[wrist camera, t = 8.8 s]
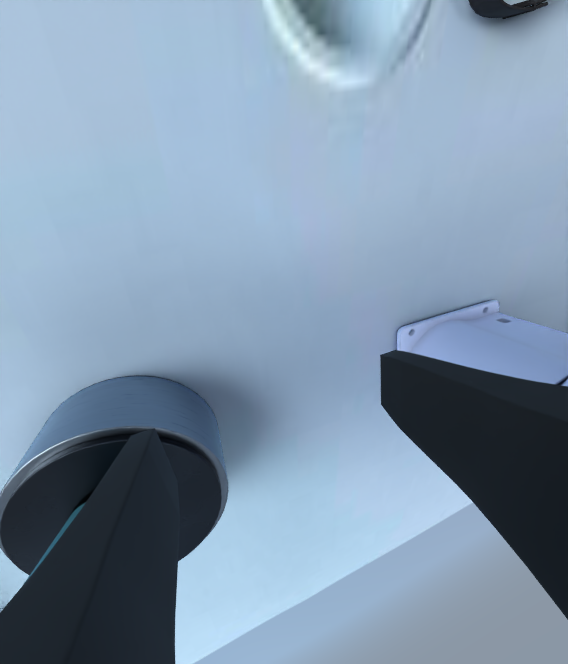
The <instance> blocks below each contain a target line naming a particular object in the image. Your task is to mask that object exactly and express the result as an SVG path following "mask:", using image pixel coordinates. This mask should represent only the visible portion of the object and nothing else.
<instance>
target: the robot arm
mask: <svg viewBox="0 0 568 664" xmlns="http://www.w3.org/2000/svg"><path fill="white" fill-rule="evenodd" d="M499 306H500V304H499V302H498V301H496V300H490V301H487V302H484V303H480V304H477V305H474V306H470V307H467V308H464V309H460V310H457V311H453V312H450V313H447V314H443V315H440V316H437V317H433V318H430V319H427V320H423V321H420V322H416V323H413V324H410V325H406V326H403V327H401V328H400V329H399V330H398V333H397V350H395V351H391V352H388V353H385V354H382V355H380V356H381V405H382V406H383V408H384V409H385V410H386V412H387V413H388V414H389V416H390V417H391V418H392V419H393V421H394V422H395V423H396V424H397V426H398V427H399V428H400V429H401V430H402V431H403V432H404V433H405V434H406V435H407V436H408V437H409V438H410V439H411V440H412V441H413V442H414V443H415V444H416V445H417V446H418V447H419V448H420V449H421V450H422V451H423V452H424V453H425V454H426V455H427V456H428V457H429V458H430V459H431V460H432V461H433V462H434V463H435V464H436V465H437V466H438V467H439V468H440V469H441V470H442V471H443V472H444V473H445V474H446V475H447V476H448V477H449V478H450V479H452V480H453V481H454V482H455V483H456V484H457V485H458V486H459V488H460V489H461V490H462V491H463V492H464V493H465V494H466V495H467V496H468V497H469V498H470V499H471V500H472V501H473V503H474V504H475V505H476V506H477V507H478V508H479V510H480V511H481V512H482V513H483V514H484V515H485V517H486V518H487V519H488V520H489V521H490V522H491V524H492V525H493V526H494V527H495V528H496V529H497V531H498V532H499V533H500V534H501V535H502V537H503V538H504V539H505V540H506V542H507V543H508V544H509V545H510V547H511V548H512V549H513V550H514V551H515V553H516V554H517V555H518V556H519V557H520V559H521V560H522V561H523V562H524V564H525V565H526V566H527V567H528V568H529V570H530V571H531V572H532V574H533V575H534V576H535V578H536V579H537V580H538V582H539V583H540V584H541V585H542V587H543V588H544V589H545V591H546V592H547V593H548V594H549V596H550V597H551V598H552V600H553V601H554V602H555V604H556V605H557V606H558V607H559V609H560V610H561V611H562V613H563V614H564V615H565V617H566V618H567V619H568V333H565V332H562V331H559V330H555V329H552V328H549V327H545V326H542V325H539V324H535V323H532V322H529V321H525V320H522V319H519V318H515V317H512V316H508V315H505V314H502V313H498V312H499ZM410 330H411V332H410V333H409V331H410ZM179 524H180V512H179V496H178V484H177V478H176V476H175V474H174V471H173V469H172V467H171V464H170V462H169V460H168V457H167V455H166V453H165V450H164V448H163V446H162V443H161V441H160V439H159V437H158V434H157V432H156V430H155V428H153V429H150V430H147V431H144V432H140V433H137V434H134V435H131V437H130V438H129V440H128V441H127V442H126V444H125V445H124V447H123V448H122V450H121V451H120V453H119V454H118V456H117V457H116V459H115V460H114V462H113V463H112V465H111V466H110V468H109V469H108V471H107V472H106V474H105V475H104V477H103V478H102V480H101V481H100V483H99V484H98V486H97V487H96V489H95V490H94V491H93V493H92V494H91V496H90V497H89V499H88V500H87V502H86V503H85V505H84V506H83V507H82V509H81V510H80V512H79V513H78V514H77V516H76V517H75V518H74V520H73V521H72V522H71V524H70V525H69V526H68V528H67V529H66V530H65V532H64V533H63V534H62V536H61V537H60V538H59V540H58V541H57V542H56V544H55V545H54V546H53V548H52V549H51V550H50V552H49V553H48V555H47V556H46V557H45V559H44V560H43V561H42V562H41V564H40V565H39V566H38V567H37V569H36V570H35V571H34V573H33V574H32V575H31V576H30V577H29V579H28V580H27V581H26V582H25V584H24V585H23V586H22V587H21V589H20V590H19V591H18V592H17V593H16V595H15V596H14V597H13V598H12V599H11V601H10V602H9V603H8V604H7V605H6V607H5V608H4V609H3V610H2V611H1V613H0V664H175V609H176V588H177V568H178V548H179Z"/></svg>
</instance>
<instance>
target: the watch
mask: <svg viewBox="0 0 568 664" xmlns="http://www.w3.org/2000/svg"><path fill="white" fill-rule="evenodd" d="M544 1H546V0H528V1H524V2H521V3H517V4H514V5H509V4H507V3H505V2H504V1H503V0H469V3H470V6H471V7H472V9H473V10H474V11H475V13H476V14H479V15H481V16H483V17H488V18H503V19H505V18H509V17H512V16H516V15H520V14H524V13H527V12H531V11H534V10H536V9H538V8H541V7H544V6H547V5H548V2H545V3H541V2H544ZM538 3H540V4H538ZM531 5H532V6H531ZM527 6H529V7H527Z"/></svg>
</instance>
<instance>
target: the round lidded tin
mask: <svg viewBox="0 0 568 664" xmlns="http://www.w3.org/2000/svg"><path fill="white" fill-rule="evenodd" d="M153 428H155V430H156V432H157V434H158V437H159V439H160V441H161V443H162V446H163V448H164V450H165V453H166V455H167V457H168V460H169V462H170V464H171V467H172V469H173V471H174V474H175V476H176V478H177V484H178V496H179V512H180V524H179V548H178V561H179V560H181V559H182V558H184V557H185V556H187V555H188V554H189V553H190V552H191V551H193V550H194V549H195V548H196V547H197V546H198V545H199V544H200V543H201V542H202V541H203V540H204V539H205V538H206V537H207V536H208V535H209V533H210V532H211V531H212V530H213V528H214V527H215V526H216V524H217V522H218V521H219V519H220V517H221V515H222V513H223V511H224V508H225V505H226V502H227V497H228V479H227V474H226V468H225V462H224V457H223V451H222V446H221V440H220V435H219V429H218V424H217V420H216V418H215V415H214V413H213V411H212V410H211V408H210V407H209V405H208V404H207V403H206V402H205V401H204V399H202V398H201V397H200V396H199V395H198V394H197V393H195V392H194V391H192V390H191V389H189V388H187V387H185V386H183V385H181V384H179V383H176V382H173V381H170V380H167V379H162V378H157V377H148V376H129V377H120V378H115V379H110V380H106V381H103V382H100V383H97V384H94V385H92V386H89V387H87V388H85V389H83V390H81V391H79V392H78V393H76V394H74V395H73V396H71V397H70V398H68V399H67V400H66V401H65V402H63V403H62V404H61V405H60V406H59V407H58V408H57V409H56V410H55V411H54V412H53V413H52V415H51V416H50V418H49V419H48V420H47V422H46V423H45V425H44V426H43V428H42V429H41V431H40V432H39V434H38V436H37V437H36V439H35V440H34V442H33V443H32V445H31V446H30V448H29V449H28V451H27V452H26V454H25V455H24V457H23V458H22V460H21V461H20V463H19V465H18V466H17V468H16V469H15V471H14V472H13V474H12V475H11V477H10V478H9V480H8V481H7V483H6V484H5V486H4V487H3V489H2V491H1V493H0V548H1V549H2V551H3V552H4V553H5V555H6V556H7V557H8V558H9V559H10V560H11V561H12V562H13V563H14V564H15V565H16V566H17V567H18V568H19V569H20V570H22V571H24V572H25V573H27V574H28V575H30V574H31V573H32V571H33V570H34V568H35V567H36V565H37V564H38V563H39V561H40V560H41V558H42V557H43V555H44V554H45V552H46V551H47V549H48V548H49V546H50V545H51V544H52V542H53V541H54V539H55V538H56V536H57V535H58V533H59V532H60V530H61V529H62V527H63V526H64V524H65V523H66V522H67V520H68V519H69V517H70V516H71V514H72V513H73V512H74V511H75V510H76V509H77V508H78V507H79V506H81V505H82V504H84V503H86V502H87V500H88V499H89V497H90V496H91V494H92V493H93V491H94V490H95V489H96V487H97V486H98V484H99V483H100V481H101V480H102V478H103V477H104V475H105V474H106V472H107V471H108V469H109V468H110V466H111V465H112V463H113V462H114V460H115V459H116V457H117V456H118V454H119V453H120V451H121V450H122V448H123V447H124V445H125V444H126V442H127V441H128V440H129V438H130V437H131V435H134V434H137V433H140V432H144V431H147V430H150V429H153Z"/></svg>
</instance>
